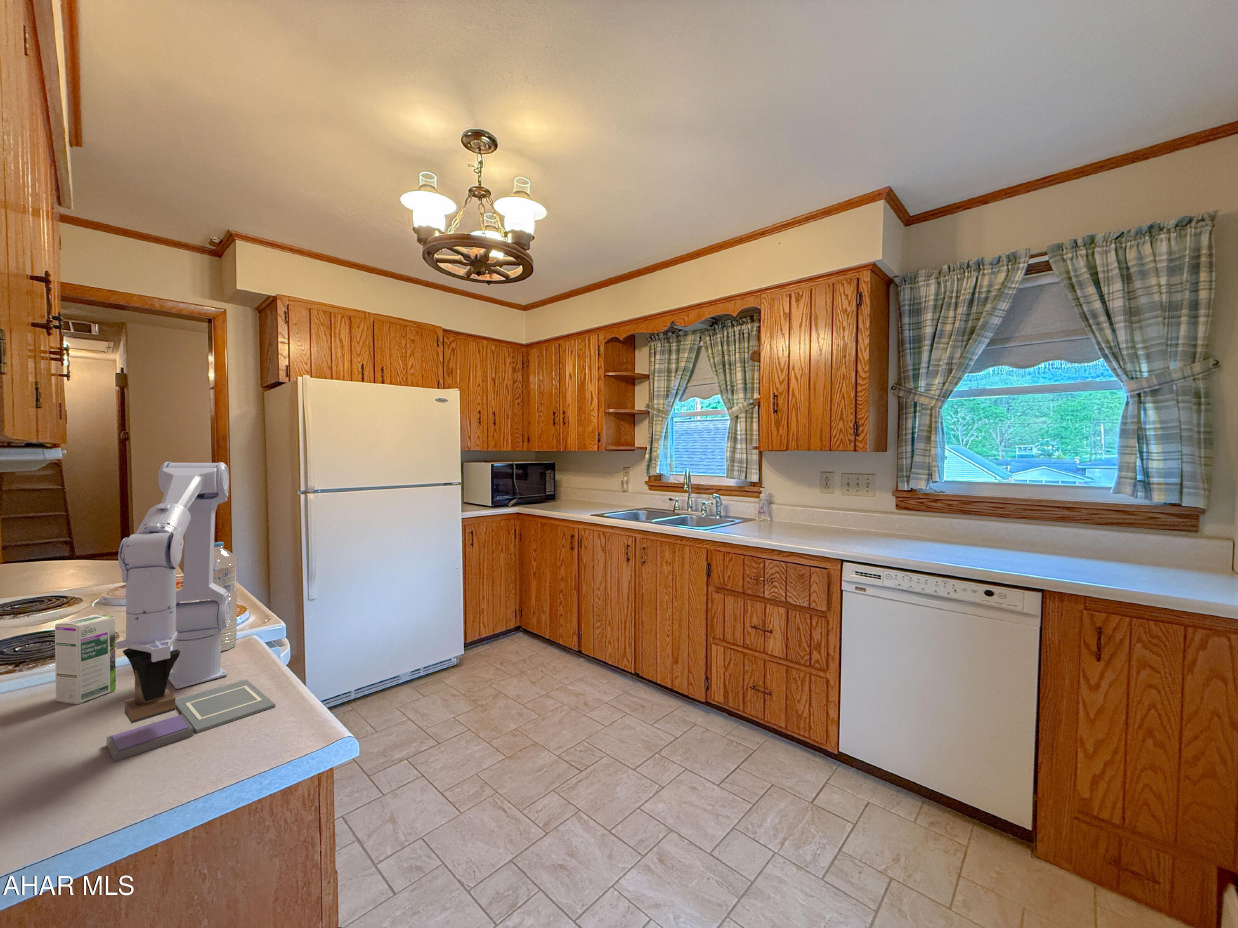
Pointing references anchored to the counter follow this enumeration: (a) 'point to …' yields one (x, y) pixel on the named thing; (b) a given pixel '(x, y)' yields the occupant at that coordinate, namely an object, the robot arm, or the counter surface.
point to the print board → (222, 705)
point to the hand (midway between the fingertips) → (151, 694)
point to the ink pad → (148, 737)
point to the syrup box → (85, 658)
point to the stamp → (147, 704)
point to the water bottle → (226, 579)
